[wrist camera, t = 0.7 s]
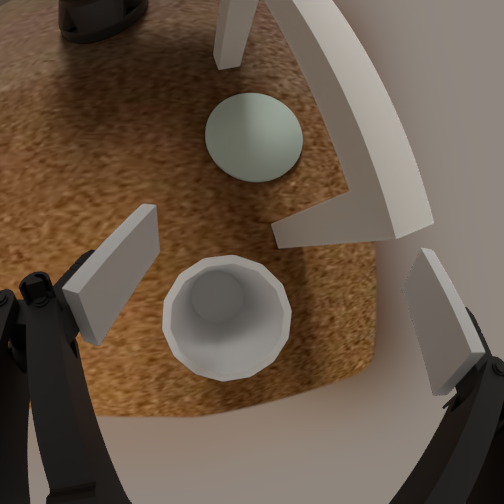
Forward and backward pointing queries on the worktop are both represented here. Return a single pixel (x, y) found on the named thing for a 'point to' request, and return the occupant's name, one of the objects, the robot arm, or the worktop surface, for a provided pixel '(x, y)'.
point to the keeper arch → (337, 123)
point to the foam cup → (226, 317)
